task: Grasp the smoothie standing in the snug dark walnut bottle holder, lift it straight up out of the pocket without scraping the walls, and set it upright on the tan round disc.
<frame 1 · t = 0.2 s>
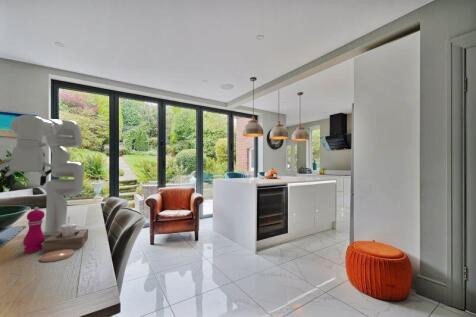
hand: (26, 185, 86), 31 cm above the table, tool pointing down, fingers open, 9 cm apart
tan round disc: (57, 256, 90), on the table
pepper mill: (33, 250, 96), on the table
bottle holder: (67, 244, 104), on the table
smoothie: (67, 245, 104), resting in bottle holder
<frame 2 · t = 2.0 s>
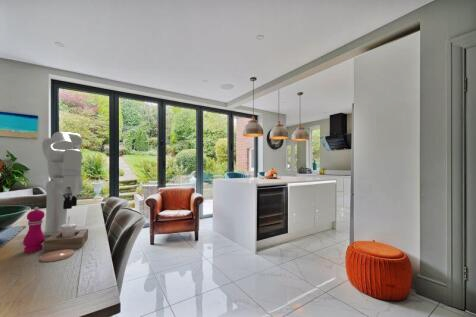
hand: (70, 207, 105), 19 cm above the table, tool pointing down, fingers open, 9 cm apart
nothing on the table moved.
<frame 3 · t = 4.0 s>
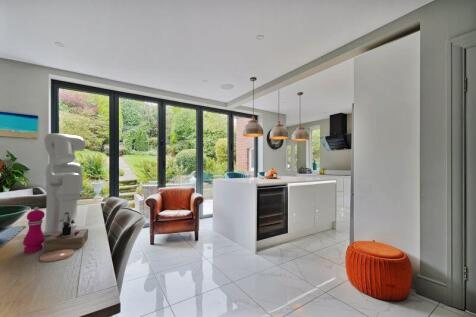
hand: (68, 233, 104), 6 cm above the table, tool pointing down, fingers closed on smoothie, 6 cm apart
smoothie: (67, 244, 104), resting in bottle holder, touching gripper
everything else where it was.
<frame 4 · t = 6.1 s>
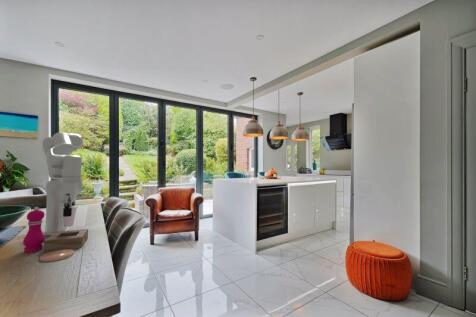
hand: (69, 214, 105), 15 cm above the table, tool pointing down, fingers closed on smoothie, 6 cm apart
smoothie: (68, 226, 105), point 9 cm above the table, touching gripper
everything else where it was.
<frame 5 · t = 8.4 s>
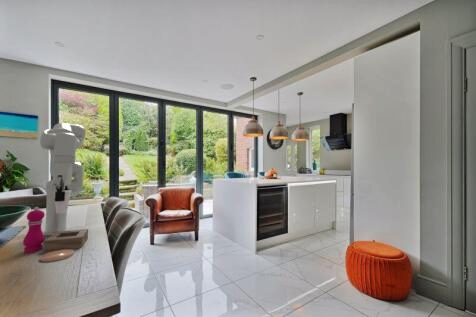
hand: (62, 199, 93), 24 cm above the table, tool pointing down, fingers closed on smoothie, 6 cm apart
smoothie: (61, 213, 92), point 18 cm above the table, touching gripper
everything else where it was.
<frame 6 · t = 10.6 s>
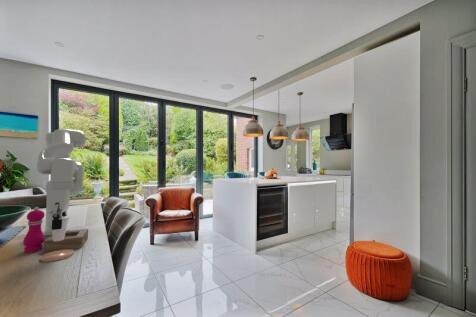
hand: (59, 226, 91), 13 cm above the table, tool pointing down, fingers closed on smoothie, 6 cm apart
smoothie: (58, 240, 90), point 7 cm above the table, touching gripper
everything else where it was.
when the fingers open (7 cm above the table, at t = 12.6 s): smoothie stays where it is, resting on tan round disc.
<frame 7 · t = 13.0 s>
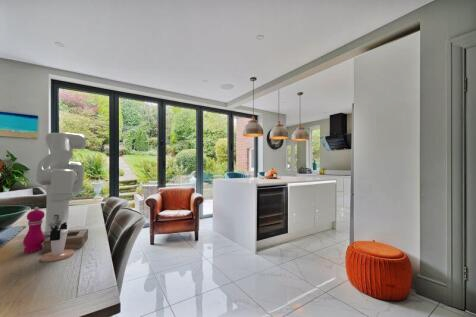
hand: (58, 236, 90), 8 cm above the table, tool pointing down, fingers open, 9 cm apart
smoothie: (57, 254, 90), point 1 cm above the table, touching tan round disc
everything else where it was.
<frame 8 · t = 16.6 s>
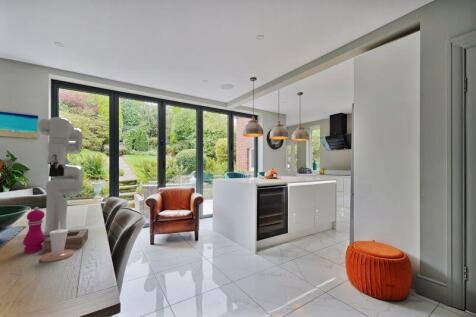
hand: (56, 176, 103), 34 cm above the table, tool pointing down, fingers open, 9 cm apart
nothing on the table moved.
at the end: smoothie 0.3 cm off-centre on the tan round disc, point 0.8 cm above the tan round disc's base; smoothie tilted 0°; the gripper is holding nothing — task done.
